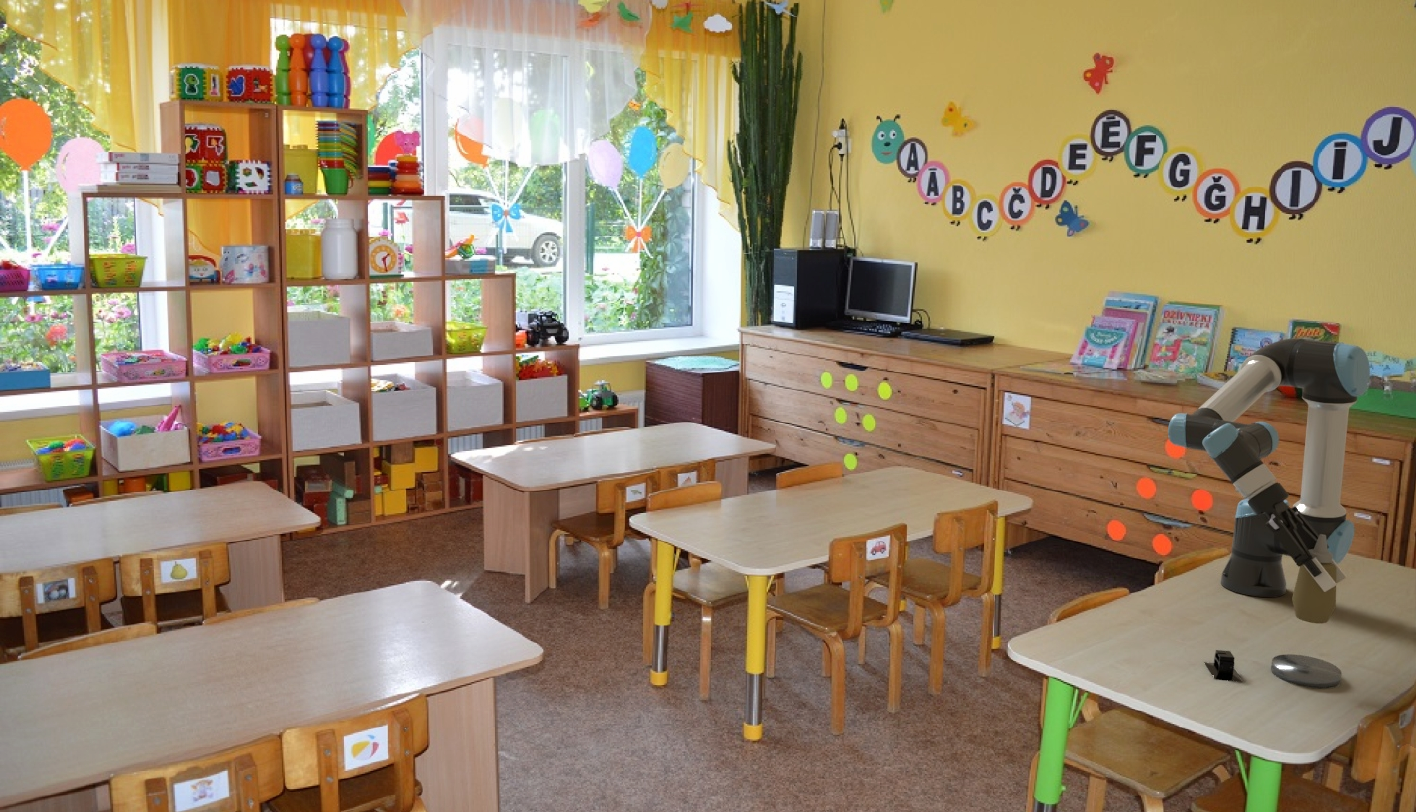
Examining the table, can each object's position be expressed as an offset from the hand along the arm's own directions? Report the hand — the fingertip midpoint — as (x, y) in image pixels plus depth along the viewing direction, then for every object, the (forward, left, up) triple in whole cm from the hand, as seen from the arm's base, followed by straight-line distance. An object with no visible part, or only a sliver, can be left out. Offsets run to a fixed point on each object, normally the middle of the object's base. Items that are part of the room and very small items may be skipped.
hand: (1335, 584), depth 244 cm
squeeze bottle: (+1, -4, -9) cm, 9 cm away
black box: (+13, -14, -22) cm, 29 cm away
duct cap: (0, -4, -21) cm, 21 cm away
